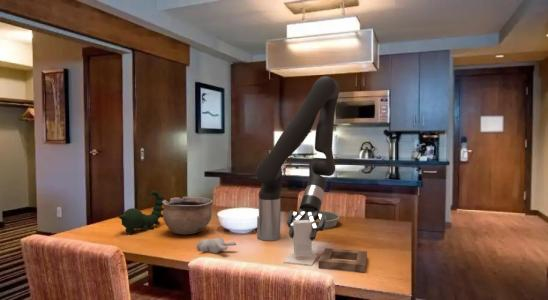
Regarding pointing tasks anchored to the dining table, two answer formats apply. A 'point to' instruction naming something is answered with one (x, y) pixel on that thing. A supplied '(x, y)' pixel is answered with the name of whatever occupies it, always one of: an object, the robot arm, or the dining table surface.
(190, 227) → the ceramic bowl
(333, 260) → the frame
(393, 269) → the dining table surface
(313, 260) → the ceramic tile
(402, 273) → the dining table surface
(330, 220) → the cake pan
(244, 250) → the dining table surface
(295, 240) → the skincare box
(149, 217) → the toy figurine
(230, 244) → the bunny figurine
